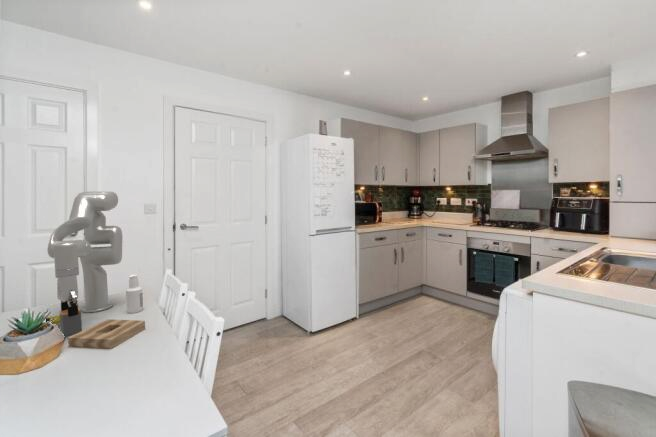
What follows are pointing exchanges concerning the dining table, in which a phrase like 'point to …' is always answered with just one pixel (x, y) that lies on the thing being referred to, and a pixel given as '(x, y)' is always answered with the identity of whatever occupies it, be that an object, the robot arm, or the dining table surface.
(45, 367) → the dining table surface
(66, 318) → the key peg
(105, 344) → the socket block
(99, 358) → the dining table surface
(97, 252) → the robot arm
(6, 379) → the dining table surface
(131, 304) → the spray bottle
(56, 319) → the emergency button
